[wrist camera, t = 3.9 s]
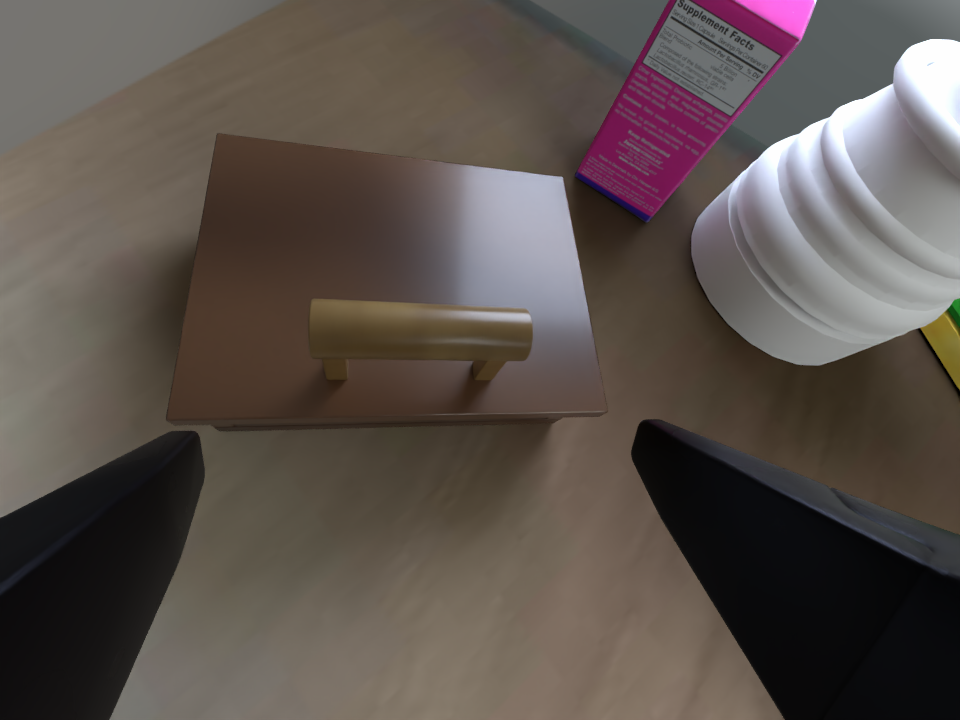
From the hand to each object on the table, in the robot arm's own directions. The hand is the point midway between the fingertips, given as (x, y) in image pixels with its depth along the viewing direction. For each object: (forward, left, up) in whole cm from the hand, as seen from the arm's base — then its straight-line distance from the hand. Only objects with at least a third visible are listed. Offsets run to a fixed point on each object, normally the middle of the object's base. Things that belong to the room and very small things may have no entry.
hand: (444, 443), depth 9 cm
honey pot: (+28, -2, -11) cm, 30 cm away
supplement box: (+23, +9, -11) cm, 27 cm away
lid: (+4, +7, -6) cm, 10 cm away
